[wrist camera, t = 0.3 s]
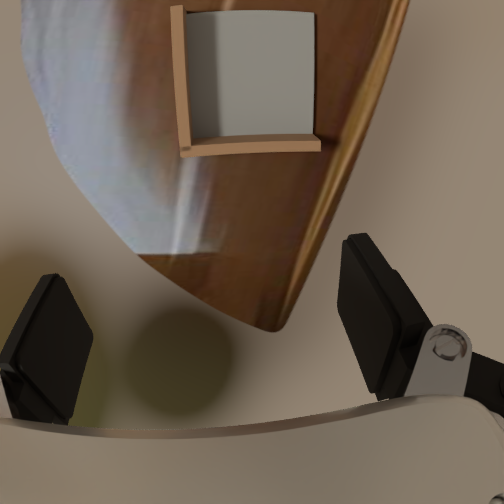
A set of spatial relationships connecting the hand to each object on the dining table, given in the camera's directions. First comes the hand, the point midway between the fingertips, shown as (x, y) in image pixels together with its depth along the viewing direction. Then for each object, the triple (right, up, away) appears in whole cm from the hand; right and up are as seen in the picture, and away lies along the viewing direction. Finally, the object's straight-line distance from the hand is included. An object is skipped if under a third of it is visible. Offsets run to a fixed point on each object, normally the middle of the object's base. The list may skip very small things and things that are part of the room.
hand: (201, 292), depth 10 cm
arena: (+2, +21, +22) cm, 31 cm away
